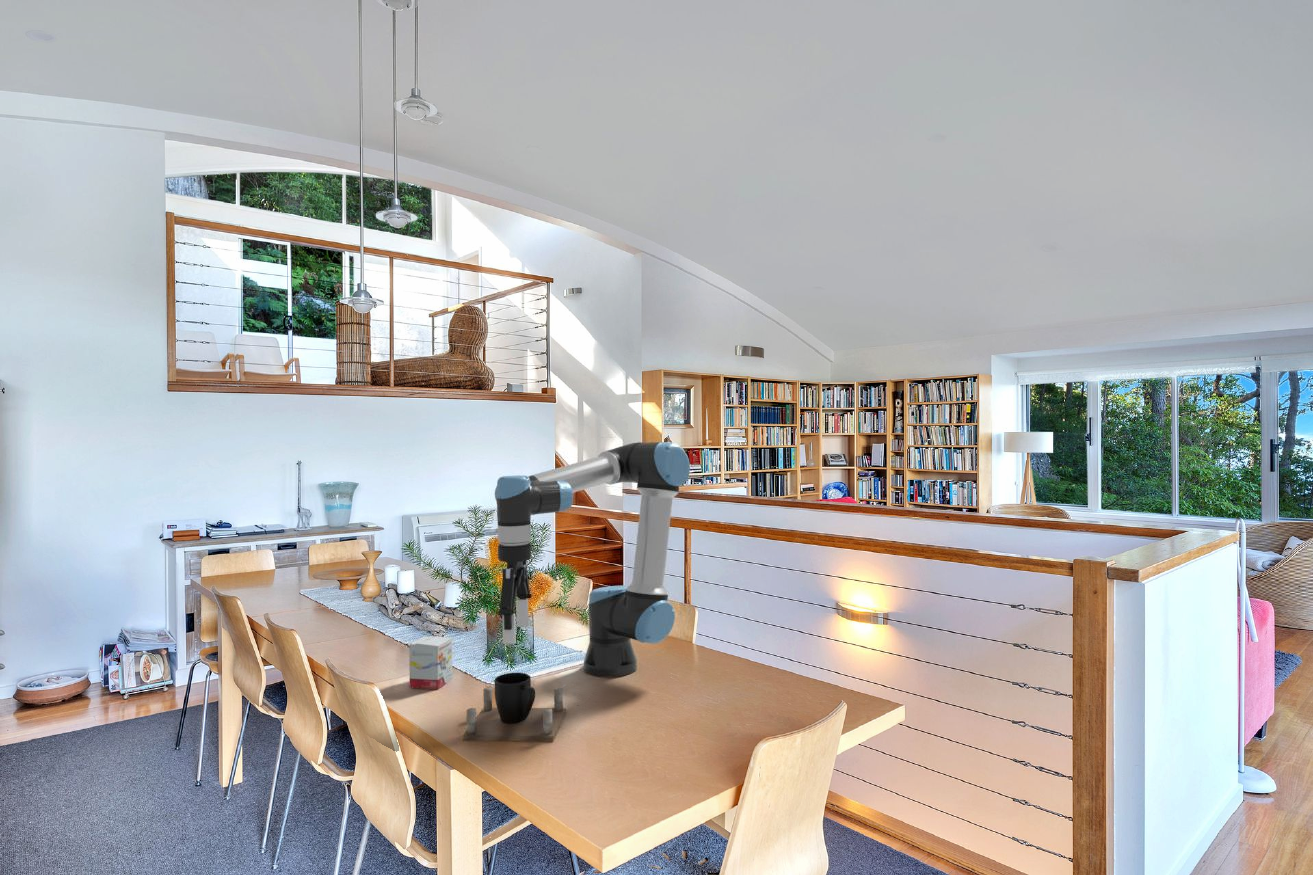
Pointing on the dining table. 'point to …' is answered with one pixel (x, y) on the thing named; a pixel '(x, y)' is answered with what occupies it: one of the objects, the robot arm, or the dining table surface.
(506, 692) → the mug
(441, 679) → the ink box
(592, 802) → the dining table surface
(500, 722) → the brown board with pegs
